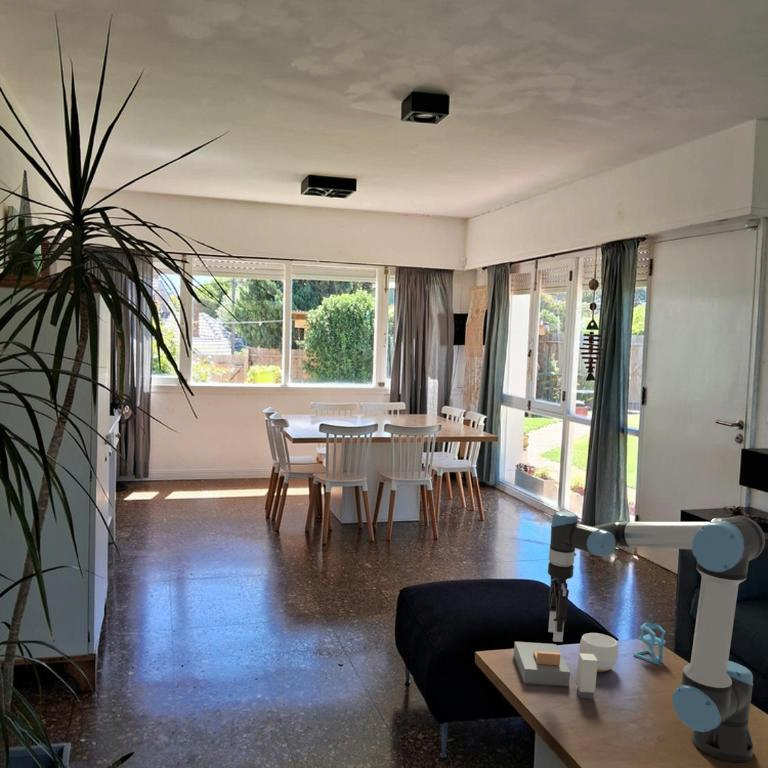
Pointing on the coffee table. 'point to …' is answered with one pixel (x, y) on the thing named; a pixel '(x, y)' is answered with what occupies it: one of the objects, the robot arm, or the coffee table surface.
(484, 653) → the coffee table surface
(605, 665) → the cup
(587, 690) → the white rectangular block
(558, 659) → the block
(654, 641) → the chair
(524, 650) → the socket plate
